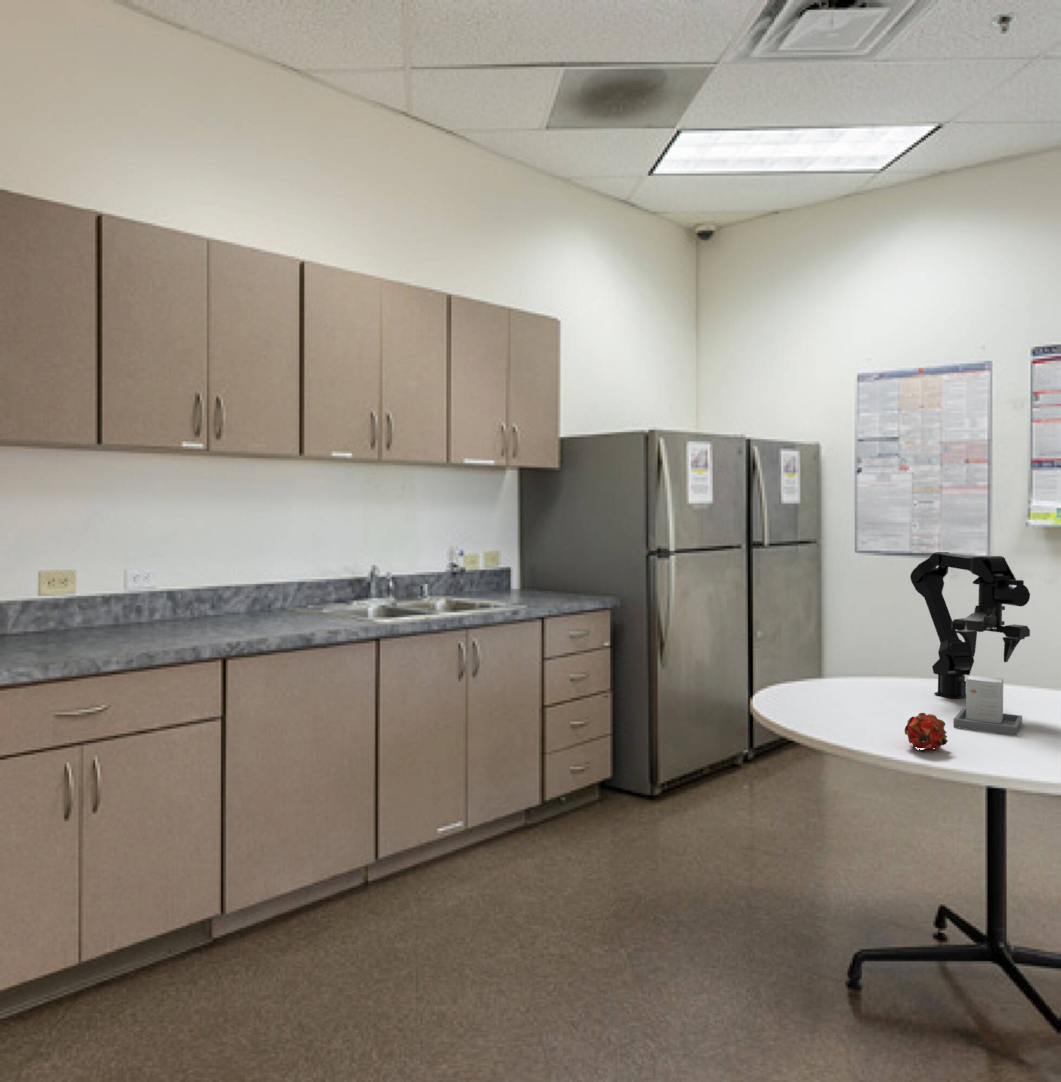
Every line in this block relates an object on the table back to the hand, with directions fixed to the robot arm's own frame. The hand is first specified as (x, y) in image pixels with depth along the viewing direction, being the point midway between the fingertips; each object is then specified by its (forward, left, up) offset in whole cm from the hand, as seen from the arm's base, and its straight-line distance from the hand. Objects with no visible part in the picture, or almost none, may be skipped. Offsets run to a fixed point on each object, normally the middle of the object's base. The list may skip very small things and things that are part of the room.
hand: (988, 659), depth 232 cm
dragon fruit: (+15, -51, -13) cm, 55 cm away
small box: (+9, -17, -13) cm, 23 cm away
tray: (+11, -19, -13) cm, 26 cm away
